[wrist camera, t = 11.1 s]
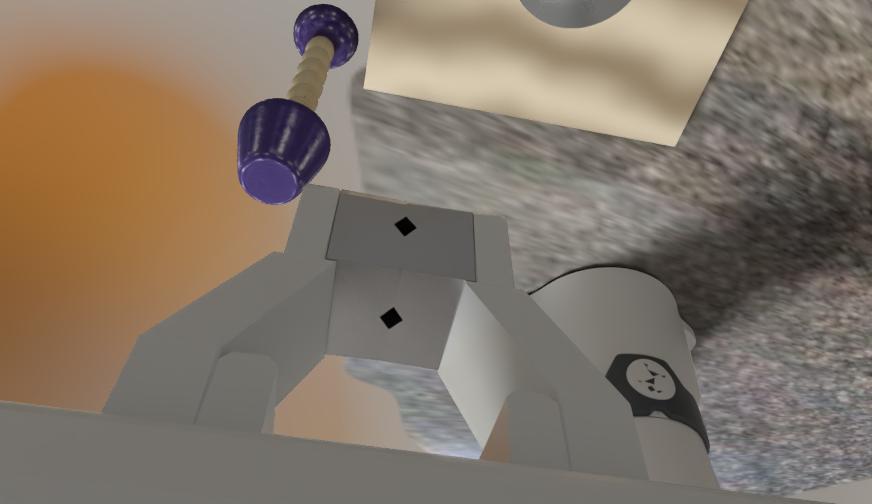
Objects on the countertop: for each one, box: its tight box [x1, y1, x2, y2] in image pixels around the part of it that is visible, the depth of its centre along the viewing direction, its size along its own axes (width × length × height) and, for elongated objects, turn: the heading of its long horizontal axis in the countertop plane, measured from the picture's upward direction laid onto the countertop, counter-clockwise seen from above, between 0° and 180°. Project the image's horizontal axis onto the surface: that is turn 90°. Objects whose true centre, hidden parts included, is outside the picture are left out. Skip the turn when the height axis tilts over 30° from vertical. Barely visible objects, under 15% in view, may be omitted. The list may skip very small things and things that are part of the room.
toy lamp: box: [237, 4, 358, 205], centre depth 37 cm, size 5×5×17 cm
